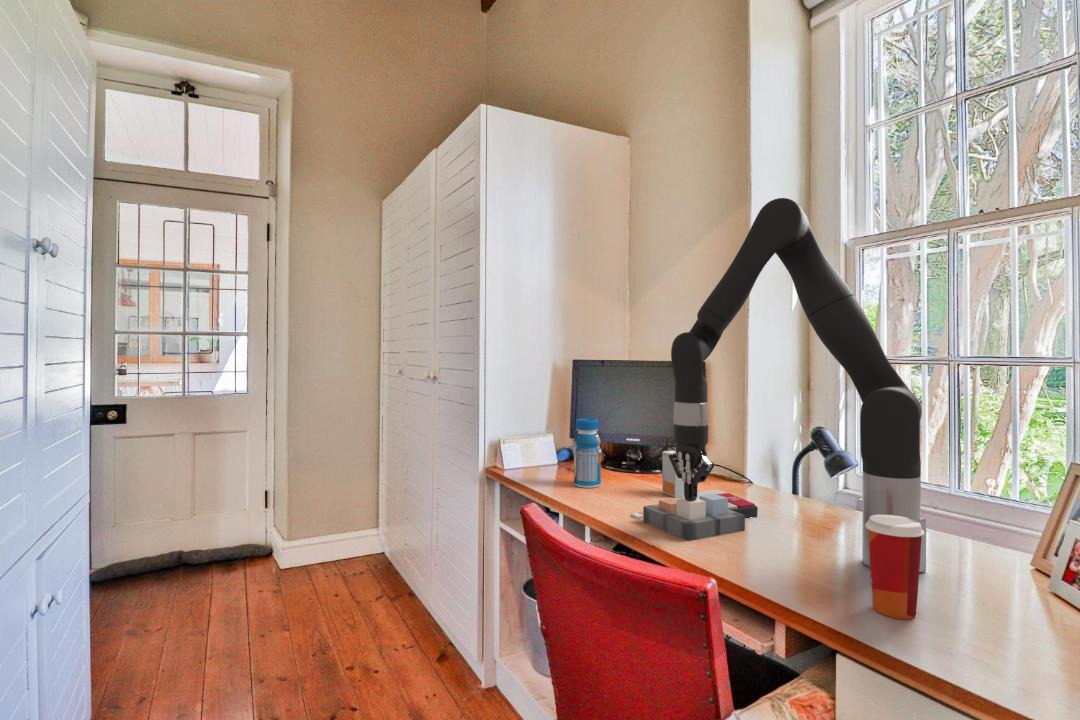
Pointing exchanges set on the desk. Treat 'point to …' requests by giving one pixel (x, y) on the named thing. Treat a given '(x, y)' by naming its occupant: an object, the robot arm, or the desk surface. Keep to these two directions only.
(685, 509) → the cream key
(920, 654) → the desk surface
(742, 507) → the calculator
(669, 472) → the skincare box
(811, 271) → the robot arm
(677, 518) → the keypad base
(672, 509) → the terracotta key
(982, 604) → the desk surface
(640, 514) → the strip
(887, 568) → the paper cup
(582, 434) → the beverage bottle
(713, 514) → the slate key
